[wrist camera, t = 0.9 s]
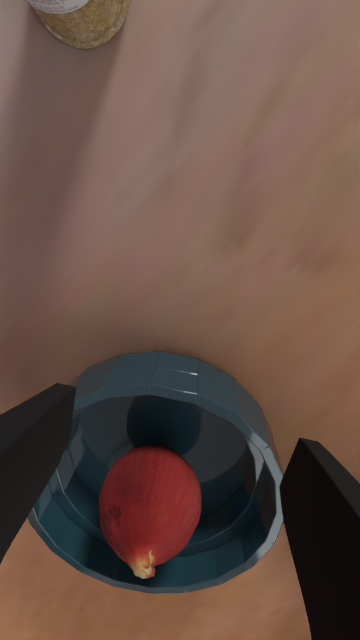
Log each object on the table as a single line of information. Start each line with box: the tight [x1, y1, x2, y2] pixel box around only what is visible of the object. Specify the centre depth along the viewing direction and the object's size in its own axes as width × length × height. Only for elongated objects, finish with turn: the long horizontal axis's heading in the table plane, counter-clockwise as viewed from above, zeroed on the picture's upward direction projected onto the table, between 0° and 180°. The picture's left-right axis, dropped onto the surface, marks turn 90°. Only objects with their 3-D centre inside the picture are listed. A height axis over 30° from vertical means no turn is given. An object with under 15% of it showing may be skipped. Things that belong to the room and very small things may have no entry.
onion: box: [99, 444, 201, 579], centre depth 19 cm, size 6×6×8 cm
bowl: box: [28, 351, 284, 593], centre depth 21 cm, size 15×15×4 cm
